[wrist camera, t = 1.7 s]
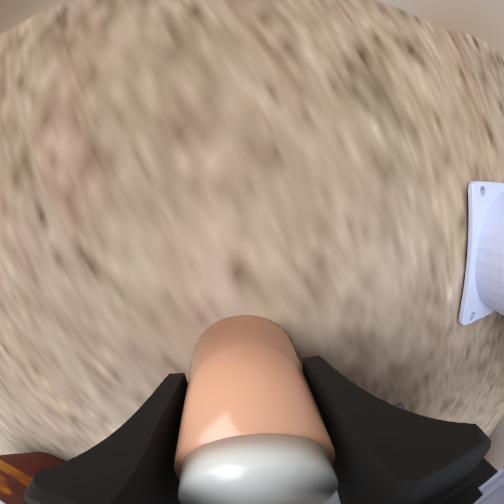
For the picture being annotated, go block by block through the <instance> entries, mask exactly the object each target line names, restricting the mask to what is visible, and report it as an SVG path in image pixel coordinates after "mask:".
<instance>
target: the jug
mask: <svg viewBox="0 0 504 504" xmlns="http://www.w3.org/2000/svg"><path fill="white" fill-rule="evenodd" d="M64 462H65V461H63V460H61V459H59V458H56V457H54V456H52V455H49V454H46V453H43V452H33V453H21V454H9V455H0V500H1V501H2V502H4V503H5V504H27V503H26V502H25V500H24V498H23V496H24V494H25V492H26V490H27V488H28V486H29V484H30V482H31V480H32V478H33V476H34V474H35V472H36V471H40V470H44V469H47V468H50V467H53V466H56V465H59V464H61V463H64Z"/></svg>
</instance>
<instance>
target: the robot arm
mask: <svg viewBox="0 0 504 504" xmlns="http://www.w3.org/2000/svg"><path fill="white" fill-rule="evenodd" d="M468 206H469V225H468V250H467V263H466V273H465V281H464V289H463V296H462V302H461V308H460V313H459V323H460V324H462V325H463V326H466V325H468V324H470V323H472V322H474V321H476V320H479V319H481V318H483V317H485V316H487V315H489V314H491V313H493V312H495V311H497V312H498V313H500V314H502V315H504V183H497V182H478V181H472V182H470V184H469V187H468ZM303 372H304V374H305V377H306V379H307V382H308V384H309V387H310V389H311V392H312V394H313V397H314V399H315V402H316V405H317V407H318V410H319V412H320V415H321V417H322V420H323V422H324V425H325V427H326V430H327V432H328V435H329V437H330V440H331V442H332V445H333V447H334V450H335V461H334V464H333V466H332V467H333V469H334V472H335V475H336V478H337V480H338V488H337V492H338V496H339V500H340V503H341V504H504V467H503V468H502V469H501V470H500V471H498V472H497V473H496V474H495V475H494V476H493V477H491V478H490V479H489V480H488V481H487V482H485V483H484V484H483V485H482V486H480V487H479V488H478V487H477V485H476V484H475V483H474V481H475V480H476V478H477V476H476V474H475V473H474V472H473V470H474V469H475V468H476V466H477V465H478V464H479V462H480V461H481V460H482V459H483V457H484V456H485V455H486V453H487V452H488V450H489V448H490V445H491V440H490V439H489V438H488V437H487V435H486V434H485V433H484V432H483V431H482V430H481V429H480V428H479V427H478V426H477V425H476V424H469V423H457V422H448V421H443V420H438V419H433V418H429V417H425V416H421V415H418V414H415V413H412V412H409V411H406V410H403V409H400V408H398V407H395V406H393V405H391V404H389V403H387V402H385V401H382V400H380V399H379V398H377V397H375V396H373V395H371V394H370V393H368V392H366V391H365V390H363V389H362V388H360V387H358V386H357V385H356V384H354V383H353V382H351V381H350V380H349V379H347V378H346V377H344V376H343V375H342V374H340V373H339V372H338V371H337V370H335V369H334V368H333V367H332V366H331V365H329V364H328V363H327V362H326V361H325V360H323V359H322V358H321V357H320V356H314V357H309V358H304V359H303ZM187 385H188V383H187V380H186V377H185V374H184V373H177V374H169V375H168V376H167V377H166V378H165V379H164V381H163V382H162V383H161V384H160V385H159V387H158V388H157V389H156V390H155V391H154V393H153V394H152V395H151V396H150V397H149V398H148V399H147V401H146V402H145V403H144V404H143V405H142V406H141V407H140V408H139V409H138V411H137V412H136V413H135V414H134V415H133V416H132V417H131V418H130V419H129V420H128V421H127V422H125V423H124V424H123V425H122V426H121V427H120V428H119V429H118V430H116V431H115V432H114V433H113V434H111V435H110V436H109V437H107V438H106V439H105V440H103V441H102V442H100V443H99V444H97V445H95V446H94V447H92V448H91V449H89V450H88V451H86V452H84V453H82V454H80V455H78V456H77V457H75V458H72V459H70V460H68V461H66V462H64V463H61V464H59V465H56V466H53V467H50V468H47V469H44V470H40V471H36V472H35V474H34V476H33V478H32V480H31V482H30V484H29V486H28V488H27V490H26V492H25V494H24V496H23V498H24V500H25V502H26V503H27V504H181V503H180V501H179V499H178V491H179V483H180V479H179V478H178V477H177V475H176V473H175V470H174V460H175V454H176V448H177V441H178V435H179V429H180V424H181V418H182V412H183V407H184V401H185V396H186V390H187ZM0 504H5V503H4V502H2V501H1V500H0Z"/></svg>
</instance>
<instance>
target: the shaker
mask: <svg viewBox="0 0 504 504" xmlns="http://www.w3.org/2000/svg"><path fill="white" fill-rule="evenodd" d="M334 461H335V450H334V447H333V445H332V442H331V440H330V437H329V435H328V432H327V430H326V427H325V425H324V422H323V420H322V417H321V415H320V412H319V410H318V407H317V405H316V402H315V399H314V397H313V394H312V392H311V389H310V387H309V384H308V382H307V379H306V377H305V374H304V372H303V369H302V367H301V364H300V362H299V359H298V357H297V354H296V352H295V349H294V347H293V344H292V342H291V340H290V338H289V336H288V335H287V334H286V332H285V331H284V330H283V329H282V328H281V327H279V326H278V325H277V324H275V323H273V322H272V321H269V320H267V319H264V318H261V317H256V316H246V315H244V316H234V317H229V318H226V319H223V320H221V321H218V322H216V323H215V324H213V325H211V326H210V327H209V328H208V329H206V330H205V331H204V333H203V334H202V335H201V336H200V338H199V339H198V341H197V343H196V346H195V349H194V354H193V359H192V364H191V369H190V374H189V380H188V385H187V390H186V396H185V401H184V407H183V412H182V418H181V424H180V429H179V435H178V441H177V448H176V454H175V460H174V470H175V473H176V475H177V477H178V478H179V479H180V483H179V491H178V499H179V501H180V503H181V504H323V503H325V502H326V501H327V500H328V499H330V498H331V497H332V496H333V495H334V493H335V492H336V490H337V488H338V480H337V478H336V475H335V472H334V469H333V467H332V466H333V464H334Z"/></svg>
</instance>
